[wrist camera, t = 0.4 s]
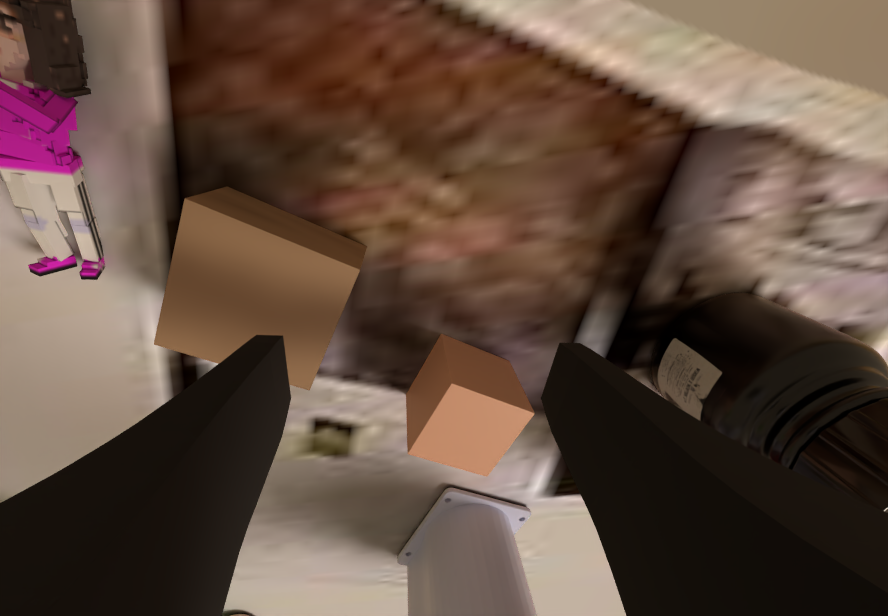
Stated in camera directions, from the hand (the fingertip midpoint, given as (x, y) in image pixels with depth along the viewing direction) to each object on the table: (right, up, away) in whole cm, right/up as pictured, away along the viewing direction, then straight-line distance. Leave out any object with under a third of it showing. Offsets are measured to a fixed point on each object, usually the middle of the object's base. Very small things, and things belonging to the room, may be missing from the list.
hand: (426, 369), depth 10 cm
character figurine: (-16, +9, +6) cm, 20 cm away
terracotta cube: (+1, -3, +14) cm, 14 cm away
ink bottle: (+19, -1, +15) cm, 24 cm away
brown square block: (-8, +3, +10) cm, 13 cm away
